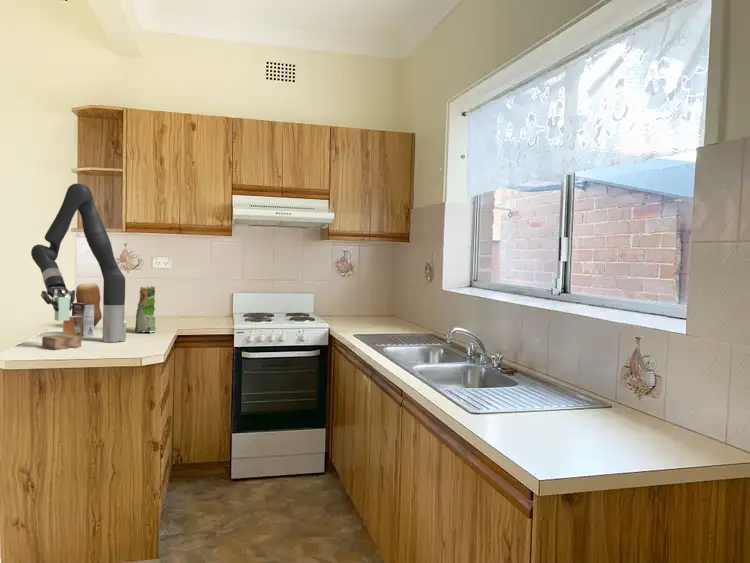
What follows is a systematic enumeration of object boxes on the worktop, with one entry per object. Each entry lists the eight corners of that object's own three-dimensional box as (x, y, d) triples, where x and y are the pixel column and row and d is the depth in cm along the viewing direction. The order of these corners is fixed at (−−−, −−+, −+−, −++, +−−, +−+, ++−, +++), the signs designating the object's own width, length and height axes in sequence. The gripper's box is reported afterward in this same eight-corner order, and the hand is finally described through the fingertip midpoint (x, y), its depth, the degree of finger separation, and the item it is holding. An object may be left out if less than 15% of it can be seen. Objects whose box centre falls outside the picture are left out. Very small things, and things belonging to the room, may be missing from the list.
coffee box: (70, 334, 293) (71, 302, 292) (81, 333, 299) (82, 302, 298) (83, 336, 289) (83, 303, 289) (94, 335, 295) (95, 303, 294)
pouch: (153, 331, 318) (154, 285, 318) (159, 333, 309) (160, 286, 308) (131, 331, 312) (132, 285, 311) (137, 334, 302) (138, 286, 301)
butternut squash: (71, 327, 321) (72, 282, 320) (97, 326, 330) (98, 282, 329) (78, 330, 311) (79, 283, 310) (105, 329, 319) (106, 283, 319)
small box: (62, 339, 278) (63, 316, 278) (62, 337, 283) (63, 315, 283) (81, 338, 282) (82, 316, 282) (81, 337, 287) (81, 315, 287)
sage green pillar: (65, 319, 256) (65, 296, 255) (69, 320, 253) (69, 297, 252) (54, 320, 252) (54, 296, 252) (58, 320, 250) (58, 297, 249)
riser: (67, 345, 261) (68, 334, 260) (81, 348, 254) (81, 336, 254) (42, 348, 252) (42, 336, 251) (55, 351, 245) (55, 339, 245)
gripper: (38, 274, 252) (48, 304, 244) (73, 274, 262) (83, 303, 255) (33, 286, 255) (43, 316, 248) (68, 286, 266) (78, 314, 258)
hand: (63, 309), depth 251 cm, fingers closed on sage green pillar, 4 cm apart
